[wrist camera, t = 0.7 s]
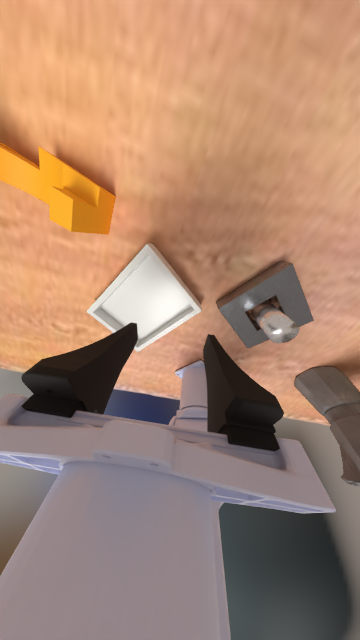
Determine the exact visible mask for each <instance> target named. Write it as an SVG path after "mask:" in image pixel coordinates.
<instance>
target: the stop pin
mask: <svg viewBox="0 0 360 640" xmlns="http://www.w3.org/2000/svg"><path fill="white" fill-rule="evenodd" d="M248 311H249V313H250V314H251V316H252V317H253V318H254V319H255V321H256V322H257V323H258V325H259V326H260V327H261V329H262V330H263V331H264V332H265V334H266V335H267V336H268V338H269V339H270V340H271V341H272V342H275V343H284V342H288V341H290V340H292V339H293V338H295V337H296V336H297V334H298V332H299V326H298V325H297V324H296V323H295V322H294V321H292V320H291V319H290V318H289V317H287V316H286V315H285V314H284V313H282V312H281V311H280V310H279V309H277V308H276V307H275V306H274V305H273V304H271V303H270V302H269V301H268V300H266V301H264V302H262V303H260V304H259V305H257V306H255V307H253V308H251V309H249V310H248Z"/></svg>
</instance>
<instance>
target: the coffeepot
mask: <svg viewBox="0 0 360 640" xmlns="http://www.w3.org/2000/svg"><path fill="white" fill-rule="evenodd" d="M295 387H296V388H297V389H298V390H299V391H300V393H301V394H302V395H303V396H304V397H305V398H306V399H307V400H308V401H309V402H310V403H311V404H312V405H313V406H314V407H315V409H316V410H317V411H318V412H319V413H320V414H322V415H323V416H325V418H326V419H327V420H328V422H329V423H330V424H331V426H330V429H331V431H332V433H333V435H334V436H335V438H336V440H337V442H338V443H339V445H340V450H341V456H342V461H343V470H344V471H343V472H344V473H343V476H342V477H341V478H342V479H343V480H344V481H345V482H347V483H349V484H353V485H355V486H359V487H360V392H359V391H358V389H357V388H356V387H355V386H354V385H353V383H352V382H351V381H350V380H349V379H348V377H347V376H346V375H345V374H344V373H343V372H341V371H340V370H338V369H336V368H334V367H328V366H323V367H315V368H311V369H309V370H306V371H304V372H302V373H301V374H299V375H298V376H297V377H296V379H295Z"/></svg>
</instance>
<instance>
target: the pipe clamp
mask: <svg viewBox="0 0 360 640" xmlns="http://www.w3.org/2000/svg"><path fill="white" fill-rule="evenodd" d="M39 165H40V167H39V166H38V165H36V164H35V163H33V162H31V161H30V160H28V159H27V158H25V157H23V156H22V155H20V154H19V153H17V152H16V151H14V150H12V149H11V148H9V147H8V146H6V145H4V144H2V143H0V180H1V181H3V182H5V183H8V184H10V185H12V186H14V187H16V188H19V189H21V190H23V191H25V192H27V193H29V194H31V195H33V196H35V197H36V198H38V199H40V200H42V201H44V202H45V203H47V204H49V210H50V220H52V221H54V222H55V223H57V224H59V225H61V226H62V227H64V228H66V229H68V230H69V231H71V232H84V233H97V234H109V229H110V224H111V218H112V213H113V208H114V203H115V198H116V196H114V195H113V194H111V193H110V192H108V191H107V190H105V189H104V188H102V187H101V186H99V185H98V184H96V183H95V182H93V181H92V180H90V179H89V178H87V177H86V176H84V175H83V174H81V173H80V172H78V171H77V170H75V169H74V168H72V167H71V166H69V165H68V164H66V163H64V162H63V161H61V160H60V159H58V158H57V157H55V156H53V155H52V154H50V153H49V152H47V151H45V150H44V149H42V148H40V147H39Z"/></svg>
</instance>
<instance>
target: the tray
mask: <svg viewBox="0 0 360 640" xmlns="http://www.w3.org/2000/svg"><path fill="white" fill-rule="evenodd" d="M201 311H202V309H201V304H200V302H199V301H198V300H197V299H196V297H195V296H194V295H193V293H192V292H191V291H190V290H189V288H188V287H187V286H186V285H185V283H184V282H183V281H182V280H181V278H180V277H179V276H178V275H177V273H176V272H175V271H174V270H173V268H172V267H171V266H170V264H169V263H168V262H167V261H166V259H165V258H164V257H163V256H162V254H161V253H160V252H159V251H158V249H157V248H156V247H155V246H154V244H153V243H148V244H146V245H145V246H144V248H143V249H142V250H141V251H140V252H139V253H138V254H137V255H136V257H135V258H134V259H133V260H132V261H131V262H130V263H129V264H128V266H127V267H126V268H125V269H124V270H123V271H122V272H121V273H120V275H119V276H118V277H117V278H116V279H115V280H114V281H113V282H112V284H111V285H110V286H109V287H108V288H107V289H106V290H105V291H104V293H103V294H102V295H101V296H100V297H99V298H98V299H97V300H96V302H95V303H94V304H93V305H92V306H91V307H90V308H89V309H88V311H87V312H88V313H89V314H90V315H91V316H93V317H94V318H95V319H97V320H98V321H99V322H100V323H102V324H103V325H104V326H106V327H107V328H108V329H109V330H111V331H112V332H113V333H114V332H116V331H118V330H119V329H121V328H123V327H124V326H126V325H128V324H129V323H131V322H132V323H137V330H138V340H137V343H136V345H135V348H134V349H135V350H136V351H140V350H142V349H143V348H145V347H146V346H148V345H149V344H151V343H152V342H154V341H156V340H157V339H159V338H160V337H162V336H163V335H165V334H167V333H168V332H170V331H171V330H173V329H174V328H176V327H178V326H179V325H181V324H182V323H184V322H185V321H187V320H188V319H190V318H192V317H193V316H195V315H196V314H198V313H199V312H201Z"/></svg>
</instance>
